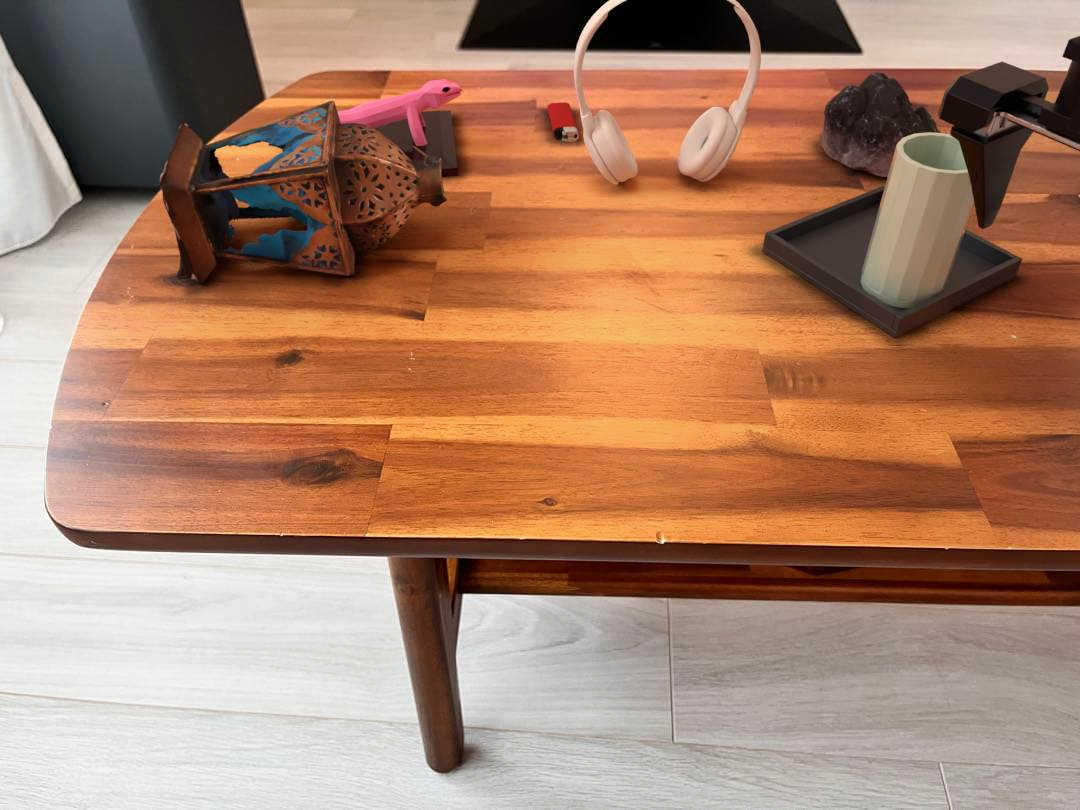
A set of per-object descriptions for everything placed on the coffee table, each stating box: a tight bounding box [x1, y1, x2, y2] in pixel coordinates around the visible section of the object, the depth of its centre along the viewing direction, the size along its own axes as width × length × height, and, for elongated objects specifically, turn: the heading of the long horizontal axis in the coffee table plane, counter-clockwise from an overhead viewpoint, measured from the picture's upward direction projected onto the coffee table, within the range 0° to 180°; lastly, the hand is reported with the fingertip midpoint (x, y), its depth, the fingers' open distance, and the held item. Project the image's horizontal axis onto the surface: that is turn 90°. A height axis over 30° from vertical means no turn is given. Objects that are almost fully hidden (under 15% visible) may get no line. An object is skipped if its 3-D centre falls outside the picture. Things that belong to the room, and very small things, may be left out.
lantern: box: [159, 100, 448, 285], centre depth 83 cm, size 16×16×25 cm
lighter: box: [546, 101, 580, 143], centre depth 106 cm, size 3×1×8 cm
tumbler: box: [860, 132, 975, 309], centre depth 76 cm, size 7×7×13 cm
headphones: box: [573, 0, 762, 185], centre depth 90 cm, size 7×18×20 cm, turn 93°
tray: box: [761, 185, 1023, 339], centre depth 84 cm, size 16×16×2 cm
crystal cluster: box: [821, 71, 941, 178], centre depth 98 cm, size 13×14×10 cm
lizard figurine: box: [337, 78, 464, 177], centre depth 100 cm, size 15×20×7 cm
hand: (1042, 256), depth 62 cm, fingers open, 9 cm apart
